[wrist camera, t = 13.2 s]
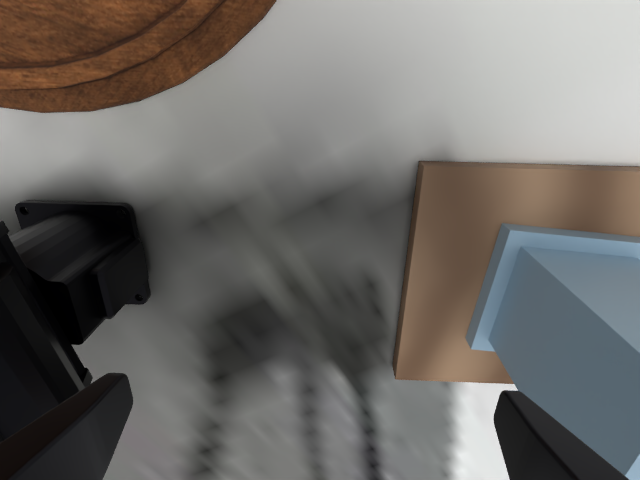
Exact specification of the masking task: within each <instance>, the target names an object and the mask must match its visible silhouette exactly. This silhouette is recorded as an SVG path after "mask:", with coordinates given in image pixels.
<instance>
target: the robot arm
mask: <svg viewBox="0 0 640 480" xmlns="http://www.w3.org/2000/svg"><path fill="white" fill-rule="evenodd" d="M25 208H27V209H28V211H29V212H27V211H26V209H25ZM120 210H123V211H124V212H125V213H126V216H125V215H123V214H121V212H120ZM15 211H16V214H17V217H18V220H19V223H20V226H21V229H22V230H21V231H19V232H17V233H15V234H13V235H11V236H8V235H7V233H8V232H9V230H8V229H7V227H6V225H5V223H4V222H3V220H0V480H102V479H103V477H104V475H105V473H106V470H107V468H108V466H109V464H110V461H111V459H112V456H113V454H114V451H115V449H116V446H117V444H118V441H119V439H120V436H121V434H122V431H123V429H124V426H125V424H126V421H127V419H128V416H129V414H130V411H131V409H132V405H133V396H132V392H131V388H130V384H129V380H128V377H127V375H126V374H123V373H108V374H106V375H104V376H102V377H101V378H99V379H98V380H96V381H95V382H93V383H92V384H90V383H91V381H92V375H91V373H90V372H89V370H88V369H87V368H84V366H83V364H82V363H81V361H80V359H79V357H78V356H77V354H76V352H75V351H74V349H73V347H72V345H71V344H73V345H80V344H82V343H83V342H84V341H85V340H86V339H87V338H88V337H89V336H90V335H91V334H92V333H93V332H94V330H95V329H96V328H97V327H98V326H99V325H100V324H101V323H102V322H103V321H104V320H105V319H111V318H113V317H114V316H115V315H116V313H117V312H118V311H119V310H120V309H121V308H122V307H123V306H124V305H125V304H144V303H146V302H147V300H148V299H149V297H150V293H149V288H148V283H147V279H148V271H147V266H146V261H145V256H144V251H143V246H142V242H141V241H140V239H139V237H138V232H137V227H136V222H135V217H134V212H133V209H132V208H131V207H130V206H129V205H128V204H125V203H102V202H67V201H33V200H26V201H22V202H20V203H18V204H16V206H15ZM138 294H140V295H141V296H142V297H143V298H142V297H140V296H139V295H138ZM494 425H495V429H496V432H497V436H498V439H499V443H500V446H501V450H502V453H503V457H504V460H505V464H506V468H507V471H508V475H509V478H510V480H629V479H628V478H627V477H626V476H625V475H623V474H622V473H621V472H620V471H618V470H617V469H616V468H615V467H613V466H612V465H611V464H610V463H609V462H607V461H606V460H605V459H604V458H602V457H601V456H600V455H599V454H597V453H596V452H595V451H594V450H593V449H591V448H590V447H589V446H588V445H586V444H585V443H584V442H583V441H581V440H580V439H579V438H578V437H577V436H575V435H574V434H573V433H572V432H570V431H569V430H568V429H567V428H565V427H564V426H563V425H562V424H561V423H559V422H558V421H557V420H556V419H554V418H553V417H552V416H551V415H550V414H548V413H547V412H546V411H545V410H543V409H542V408H541V407H540V406H538V405H537V404H536V403H535V402H534V401H532V400H531V399H530V398H529V397H527V396H526V395H525V394H524V393H522V392H520V391H507V390H505V391H502V392H501V394H500V396H499V400H498V403H497V406H496V410H495V413H494Z"/></svg>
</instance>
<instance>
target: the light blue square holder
mask: <svg viewBox="0 0 640 480" xmlns="http://www.w3.org/2000/svg"><path fill="white" fill-rule="evenodd" d="M465 339H466V341H467V343H468V345H469V346H470V348H471V349H473V350H483V351H494V352H496V354H497V355H498V357H499V359H500V360H501V362H502V364H503V366H504V367H505V369H506V371H507V372H508V374H509V376H510V377H511V379H512V381H513V382H514V384H515V386H516V387H517V389H518V391H520V392H522V393H524V394H525V395H526V396H527V397H529V398H530V399H531V400H532V401H534V402H535V403H536V404H537V405H538V406H540V407H541V408H542V409H543V410H545V411H546V412H547V413H548V414H550V415H551V416H552V417H553V418H554V419H556V420H557V421H558V422H559V423H561V424H562V425H563V426H564V427H565V428H567V429H568V430H569V431H570V432H572V433H573V434H574V435H575V436H577V437H578V438H579V439H580V440H581V441H583V442H584V443H585V444H586V445H588V446H589V447H590V448H591V449H593V450H594V451H595V452H596V453H597V454H599V455H600V456H601V457H602V458H604V459H605V460H606V461H607V462H609V463H610V464H611V465H612V466H613V467H615V468H616V469H617V470H618V471H620V472H621V473H622V474H623V475H625V476H626V477H627V478H628V479H629V480H640V237H636V236H626V235H616V234H606V233H596V232H586V231H576V230H566V229H556V228H546V227H536V226H526V225H516V224H506V223H502V225H501V228H500V231H499V234H498V237H497V240H496V244H495V247H494V250H493V253H492V256H491V259H490V262H489V266H488V269H487V272H486V275H485V278H484V281H483V284H482V287H481V291H480V294H479V297H478V300H477V303H476V306H475V309H474V313H473V316H472V319H471V322H470V325H469V328H468V331H467V335H466V338H465Z"/></svg>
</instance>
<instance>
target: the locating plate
mask: <svg viewBox="0 0 640 480" xmlns="http://www.w3.org/2000/svg"><path fill="white" fill-rule="evenodd" d="M502 223H506V224H516V225H526V226H536V227H546V228H556V229H566V230H576V231H586V232H596V233H606V234H616V235H626V236H636V237H640V167H631V166H593V165H555V164H516V163H478V162H439V161H419V165H418V173H417V180H416V188H415V196H414V204H413V212H412V219H411V227H410V235H409V243H408V250H407V258H406V266H405V274H404V281H403V289H402V297H401V305H400V312H399V320H398V328H397V336H396V343H395V351H394V359H393V371H394V376H395V379H398V380H424V381H451V382H477V383H504V384H514V382H513V381H512V379H511V377H510V376H509V374H508V372H507V371H506V369H505V367H504V366H503V364H502V362H501V360H500V359H499V357H498V355H497V354H496V352H494V351H483V350H473V349H471V348H470V346H469V345H468V343H467V341H466V339H465V338H466V335H467V331H468V328H469V325H470V322H471V319H472V316H473V313H474V309H475V306H476V303H477V300H478V297H479V294H480V291H481V287H482V284H483V281H484V278H485V275H486V272H487V269H488V266H489V262H490V259H491V256H492V253H493V250H494V247H495V244H496V240H497V237H498V234H499V231H500V228H501V225H502Z"/></svg>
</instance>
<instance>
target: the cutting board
mask: <svg viewBox="0 0 640 480" xmlns="http://www.w3.org/2000/svg"><path fill="white" fill-rule="evenodd" d="M275 2H276V0H0V107H3V108H10V109H18V110H25V111H33V112H40V113H50V112H82V111H95V110H99V109H104V108H109V107H114V106H118V105H123V104H128V103H132V102H137V101H141V100H143V99H145V98H148V97H150V96H152V95H155V94H157V93H160V92H162V91H164V90H167V89H169V88H172V87H174V86H176V85H179V84H181V83H183V82H185V81H186V80H188V79H189V78H191V77H192V76H194V75H195V74H197V73H198V72H200V71H201V70H203V69H204V68H206V67H207V66H209V65H211V64H212V63H214V62H215V61H217V60H218V59H220V58H221V57H223V56H224V55H225V54H226V53H227V52H228V51H229V50H230V49H231V48H233V47H234V46H235V45H236V44H237V43H238V42H239V41H240V40H241V39H242V38H243V37H244V36H245V35H246V34H247V33H248V32H249V31H250V30H251V29H252V28H253V27H255V26H256V25H257V24H258V23H259V22H260V21H261V20H262V19H263V18H264V16H265V15H266V14H267V12H268V11H269V10H270V8H271V7H272V6H273V4H274V3H275Z"/></svg>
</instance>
